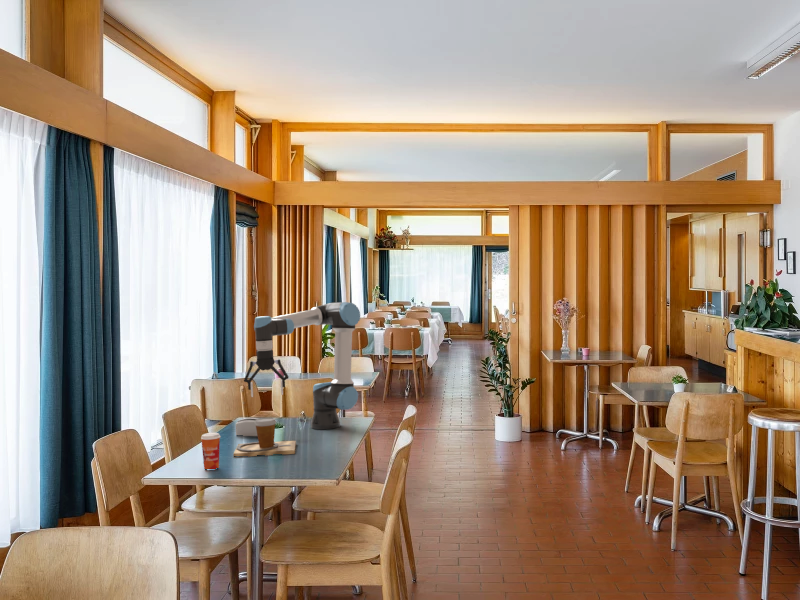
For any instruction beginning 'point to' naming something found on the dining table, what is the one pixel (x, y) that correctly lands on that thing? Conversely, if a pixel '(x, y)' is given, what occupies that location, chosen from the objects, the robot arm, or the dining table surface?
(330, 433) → the dining table surface
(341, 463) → the dining table surface
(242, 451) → the wooden board
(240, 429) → the napkin holder
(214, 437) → the paper cup
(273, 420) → the disposable coffee cup
